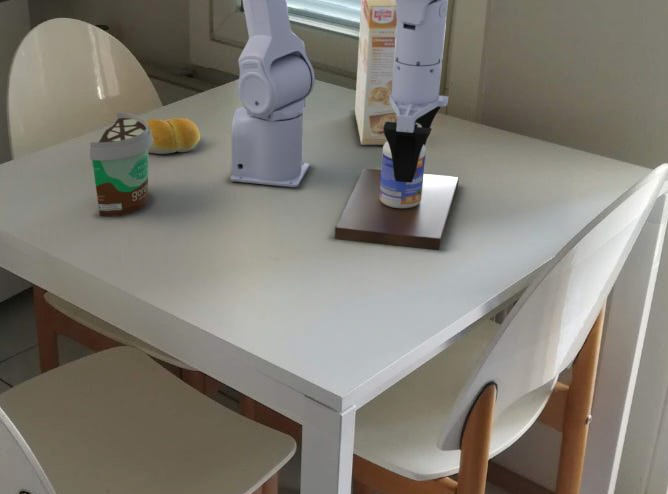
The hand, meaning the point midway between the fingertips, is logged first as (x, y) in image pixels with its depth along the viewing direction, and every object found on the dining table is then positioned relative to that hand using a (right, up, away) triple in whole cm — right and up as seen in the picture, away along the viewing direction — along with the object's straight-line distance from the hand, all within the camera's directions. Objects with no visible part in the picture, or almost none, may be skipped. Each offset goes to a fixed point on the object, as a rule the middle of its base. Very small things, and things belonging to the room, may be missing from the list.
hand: (408, 169), depth 139 cm
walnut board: (-1, -4, +4) cm, 6 cm away
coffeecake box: (0, +14, +28) cm, 32 cm away
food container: (-36, -3, +6) cm, 36 cm away
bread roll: (-32, +10, +23) cm, 41 cm away
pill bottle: (-1, -3, +3) cm, 5 cm away
